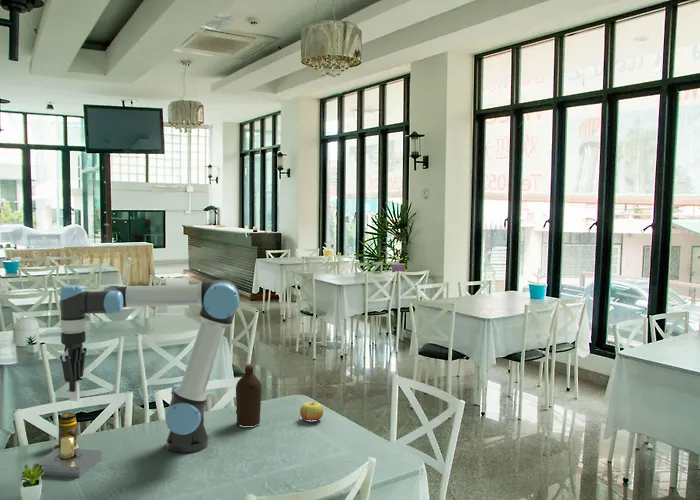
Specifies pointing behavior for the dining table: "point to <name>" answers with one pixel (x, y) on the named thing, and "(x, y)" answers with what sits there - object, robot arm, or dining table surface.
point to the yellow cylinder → (67, 448)
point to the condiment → (67, 429)
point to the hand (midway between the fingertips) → (74, 400)
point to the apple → (311, 411)
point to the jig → (70, 463)
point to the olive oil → (248, 398)
